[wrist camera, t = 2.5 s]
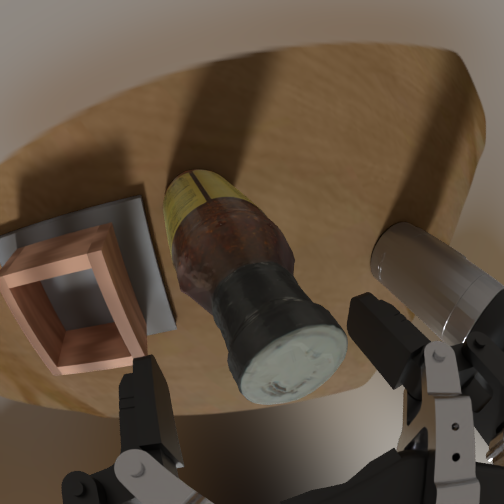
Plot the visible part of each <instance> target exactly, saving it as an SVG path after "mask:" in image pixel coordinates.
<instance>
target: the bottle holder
mask: <svg viewBox="0 0 504 504" xmlns="http://www.w3.org/2000/svg"><path fill="white" fill-rule="evenodd" d="M0 264H1V266H2V268H1V270H0V292H1V294H2V296H3V298H4V299H5V301H6V303H7V305H8V307H9V309H10V310H11V312H12V314H13V316H14V317H15V319H16V321H17V323H18V324H19V326H20V327H21V329H22V331H23V332H24V334H25V335H26V337H27V339H28V340H29V342H30V343H31V345H32V346H33V348H34V349H35V351H36V352H37V353H38V355H39V356H40V358H41V359H42V361H43V362H44V363H45V365H46V366H47V367H48V369H49V370H50V371H51V373H52V374H53V375H54V376H56V375H66V374H75V373H83V372H91V371H98V370H105V369H112V368H118V367H124V366H130V365H133V358H137V357H142V356H147V355H148V353H147V335H152V334H156V333H161V332H166V331H171V330H175V329H177V327H176V322H175V319H174V316H173V313H172V309H171V306H170V303H169V300H168V297H167V293H166V290H165V287H164V283H163V280H162V276H161V273H160V269H159V265H158V262H157V258H156V254H155V250H154V247H153V243H152V239H151V235H150V231H149V226H148V222H147V218H146V214H145V209H144V205H143V200H142V195H138V196H133V197H129V198H125V199H121V200H117V201H113V202H109V203H105V204H101V205H97V206H93V207H90V208H86V209H82V210H79V211H75V212H72V213H68V214H65V215H62V216H58V217H55V218H52V219H49V220H45V221H42V222H39V223H36V224H33V225H30V226H27V227H24V228H21V229H18V230H15V231H12V232H9V233H7V234H4V235H1V236H0Z"/></svg>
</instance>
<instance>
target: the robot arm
mask: <svg viewBox="0 0 504 504" xmlns="http://www.w3.org/2000/svg"><path fill="white" fill-rule="evenodd" d="M371 272H372V274H373V276H374V277H375V278H376V279H377V280H378V281H379V282H380V283H381V284H383V285H384V286H385V287H386V288H387V289H388V290H389V291H390V292H391V293H392V294H394V295H395V296H396V297H397V298H398V299H399V300H400V301H401V302H402V303H403V304H405V305H406V306H407V307H408V308H409V309H410V310H411V311H412V312H413V313H414V314H415V315H416V316H418V318H420V319H421V320H422V321H423V322H424V323H425V324H426V325H427V326H428V327H429V328H430V329H431V330H432V331H433V332H434V333H436V335H437V336H438V337H439V338H440V339H441V340H442V341H444V342H445V343H444V342H441V341H434V342H431V341H430V340H429V339H428V338H427V337H425V336H424V335H423V334H422V333H421V332H420V331H419V330H418V329H417V328H416V327H415V326H414V325H413V324H412V323H411V322H410V321H409V320H407V319H406V317H405V316H404V315H402V314H400V312H399V311H398V310H397V309H396V308H395V307H394V306H393V305H391V304H389V303H387V302H385V301H383V300H378V299H377V298H376V297H375V296H374V295H373V294H371V293H370V292H366V293H364V294H361V295H358V296H356V297H353V298H352V299H351V302H350V308H349V314H348V320H347V330H348V333H349V335H350V337H351V338H352V340H353V341H354V342H355V343H356V345H357V346H358V347H359V348H360V349H361V351H362V352H363V353H364V354H365V355H366V357H367V358H368V359H369V360H370V361H371V363H372V364H373V365H374V366H375V368H376V369H377V370H378V371H379V373H381V375H382V376H383V377H384V379H385V380H386V381H387V382H388V384H389V385H390V386H391V387H392V389H393V390H394V389H396V388H398V387H399V386H401V385H403V386H404V387H405V390H404V396H403V397H404V399H403V427H402V432H401V435H400V438H399V441H398V445H397V451H396V450H395V448H393V449H391V450H390V451H388V452H386V453H385V454H383V455H382V456H380V457H378V458H376V459H374V460H373V461H371V462H369V464H367V465H366V466H365V467H364V468H363V469H362V470H361V471H359V472H358V473H357V474H356V475H355V476H353V477H352V478H351V479H350V480H349V481H348V482H346V483H343V484H340V485H335V486H331V487H326V488H321V489H315V490H311V491H308V492H306V493H303V494H300V495H298V496H295V497H292V498H290V499H287V500H284V501H281V502H280V504H504V286H503V285H502V284H501V283H499V282H498V281H497V280H495V279H494V278H493V277H491V276H490V275H489V274H487V273H486V272H484V271H483V270H481V269H480V268H479V267H477V266H476V265H474V264H473V263H471V262H470V261H468V260H467V259H466V257H465V256H464V255H462V254H461V253H459V252H458V251H456V250H455V249H453V248H452V247H450V246H449V245H447V244H445V243H444V242H442V241H441V240H439V239H437V238H436V237H434V236H433V235H431V234H429V233H428V232H426V231H424V230H423V229H421V228H419V227H418V228H417V227H415V226H413V225H412V224H410V223H408V222H401V223H397V224H395V225H393V226H392V227H390V228H389V229H388V230H387V231H386V232H385V233H384V234H383V235H382V236H381V238H380V239H379V241H378V242H377V244H376V246H375V248H374V251H373V253H372V258H371ZM119 400H120V401H119V409H120V411H119V417H120V435H121V453H120V456H119V457H118V458H117V459H116V462H115V463H114V464H113V465H112V466H111V467H109V468H107V469H104V470H102V471H99V472H97V473H94V474H91V475H88V474H86V473H84V472H81V471H74V472H71V473H69V474H67V475H66V477H65V478H64V479H63V482H62V497H63V504H214V503H212V502H211V501H209V500H207V499H206V498H205V497H203V496H202V495H200V494H199V493H197V492H196V491H194V490H193V489H192V488H190V487H189V486H187V485H186V484H185V483H184V482H182V481H181V480H180V479H179V477H178V473H177V469H176V468H179V467H184V463H183V459H182V455H181V450H180V446H179V441H178V436H177V431H176V426H175V421H174V416H173V410H172V404H171V398H170V393H169V388H168V385H167V382H166V380H165V377H164V375H163V373H162V371H161V370H160V368H159V365H158V363H157V361H156V359H155V357H154V356H153V355H147V356H142V357H137V358H133V373H129V374H124V376H123V378H122V380H121V382H120V385H119ZM474 427H475V428H476V429H477V431H478V432H479V433H480V435H481V436H482V438H483V439H484V440H485V442H486V443H487V444H488V446H489V451H488V452H487V454H486V459H487V460H488V461H493V464H486V463H479V462H475V438H474Z"/></svg>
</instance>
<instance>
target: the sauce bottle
mask: <svg viewBox="0 0 504 504" xmlns="http://www.w3.org/2000/svg"><path fill="white" fill-rule="evenodd" d="M163 213H164V219H165V226H166V232H167V238H168V243H169V248H170V253H171V258H172V263H173V266H174V269H175V271H176V273H177V278H178V281H179V286H180V290H181V292H183V293H185V294H187V295H188V296H190V297H191V298H192V299H193V300H195V301H196V302H197V303H198V304H199V305H201V306H202V307H203V308H204V309H205V310H207V311H208V312H209V313H210V314H211V315H213V317H214V321H215V323H216V325H217V327H218V328H219V329H220V330H221V333H222V336H223V338H224V340H225V343H226V347H227V349H228V352H229V353H228V360H227V361H228V366H229V369H230V372H231V373H232V375H233V378H234V379H235V381H236V383H237V385H238V388H239V391H240V392H241V393H242V394H243V395H244V396H245V397H246V399H247V400H249V401H251V402H253V403H258V404H266V405H271V404H279V403H287V402H290V401H294V400H298V399H300V398H302V397H304V396H306V395H308V394H310V393H312V392H313V391H315V390H316V389H317V388H318V387H320V386H321V385H322V384H323V383H324V382H326V381H327V380H328V379H329V378H330V377H331V376H332V375H333V373H334V372H335V371H336V370H337V368H338V367H339V366H340V364H341V363H342V361H343V360H344V358H345V355H346V352H347V345H348V341H347V336H346V334H345V332H344V330H343V329H342V328H341V326H340V325H339V324H338V322H337V321H336V320H335V318H334V317H333V316H332V315H331V314H330V312H329V311H328V310H326V309H325V308H324V307H323V306H321V305H319V304H316V303H313V302H312V301H311V299H310V298H309V297H308V296H307V295H306V294H305V293H304V291H303V290H302V289H301V288H300V286H299V285H298V283H297V281H296V279H295V278H294V276H293V272H294V262H295V259H294V256H293V252H292V250H291V248H290V246H289V244H288V243H287V241H286V239H285V237H284V235H283V233H282V232H281V230H280V229H279V228H278V226H276V225H275V224H274V223H273V222H272V221H271V220H270V219H268V218H267V217H266V215H265V214H264V213H263V211H262V210H261V209H260V208H259V207H257V206H256V205H255V204H254V203H253V202H252V201H250V200H249V199H248V198H247V197H246V196H245V195H243V194H242V193H241V192H240V191H239V190H237V189H236V188H235V187H234V186H233V185H231V184H230V183H229V182H228V181H227V180H225V179H224V178H223V177H221V176H220V175H218V174H216V173H214V172H213V171H207V170H201V169H199V170H196V169H195V170H187V171H185V172H183V173H181V174H179V175H178V176H177V177H176V178H175V179H174V180H173V181H172V182H171V184H170V185H169V186H168V188H167V189H166V192H165V197H164V202H163Z"/></svg>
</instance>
